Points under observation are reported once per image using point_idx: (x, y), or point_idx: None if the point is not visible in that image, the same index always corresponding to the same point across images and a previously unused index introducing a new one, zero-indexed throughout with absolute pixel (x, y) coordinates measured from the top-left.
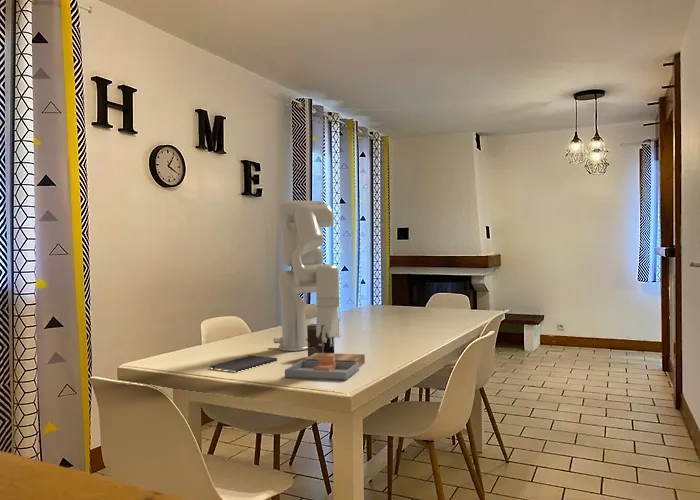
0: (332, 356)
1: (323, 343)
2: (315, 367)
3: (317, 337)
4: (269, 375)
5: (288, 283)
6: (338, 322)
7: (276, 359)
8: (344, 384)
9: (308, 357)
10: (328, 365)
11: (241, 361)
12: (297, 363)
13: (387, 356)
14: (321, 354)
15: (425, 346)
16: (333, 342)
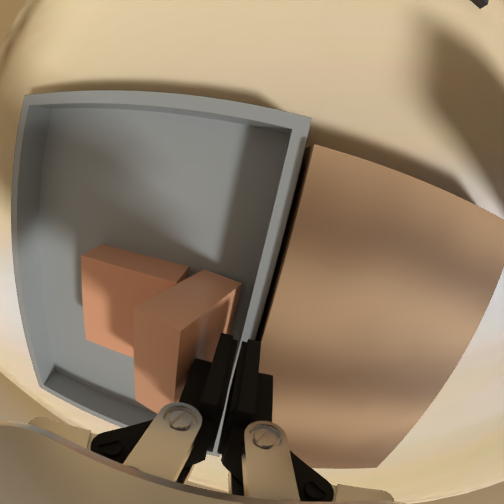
0: (137, 397)
1: (149, 428)
2: (83, 264)
3: (10, 422)
4: (111, 4)
5: None
6: None
7: (480, 2)
8: (23, 355)
9: (380, 175)
10: (130, 341)
11: None
12: (185, 104)
13: (442, 460)
14: (150, 338)
15: (489, 475)
16: (236, 486)
